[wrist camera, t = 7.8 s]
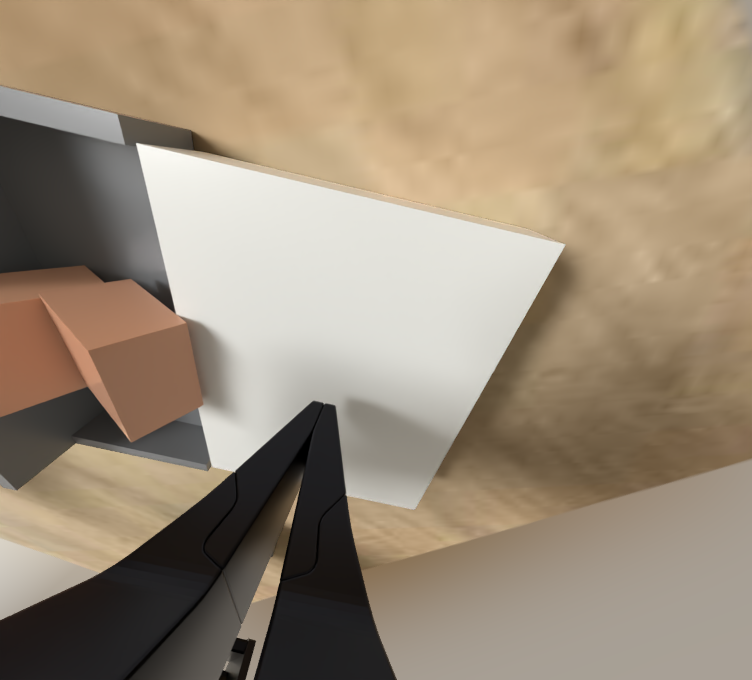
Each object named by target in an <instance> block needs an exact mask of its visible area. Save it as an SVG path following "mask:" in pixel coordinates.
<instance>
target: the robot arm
mask: <svg viewBox="0 0 752 680" xmlns="http://www.w3.org/2000/svg"><path fill="white" fill-rule="evenodd" d="M300 486H301V487H300ZM299 488H300V491H299ZM298 491H299V496H298V500H297V505H296V509H295V514H294V518H293V523H292V528H291V532H290V537H289V541H288V546H287V550H286V555H285V559H284V564H283V569H282V573H281V578H280V583H279V587H278V591H277V596H276V600H275V604H274V608H273V612H272V616H271V620H270V624H269V627H268V631H267V634H266V638H265V641H264V645H263V649H262V653H261V656H260V660H259V663H258V667H257V670H256V674H255V677H254V680H397V679H396V677H395V674H394V671H393V669H392V666H391V664H390V662H389V659H388V657H387V654H386V652H385V649H384V647H383V644H382V642H381V639H380V636H379V634H378V631H377V628H376V625H375V622H374V619H373V615H372V611H371V608H370V604H369V601H368V597H367V593H366V588H365V584H364V580H363V576H362V572H361V568H360V564H359V560H358V556H357V552H356V548H355V543H354V538H353V534H352V529H351V523H350V517H349V510H348V502H347V496H346V486H345V478H344V470H343V461H342V453H341V445H340V436H339V428H338V420H337V411H336V406H335V405H333V404H328V403H325V404H324V403H323V402H319V401H312V402H311V403H310V404H309V405H307V406H306V407H305V408H304V409H303V410H302V411H301V412H300V413H299V414H297V415H296V416H295V417H294V418H293V419H292V420H291V421H290V422H289V423H287V424H286V425H285V426H284V427H283V428H282V429H281V430H280V431H279V432H277V433H276V434H275V435H274V436H273V437H272V438H271V439H270V440H269V441H267V442H266V443H265V444H264V445H263V446H262V447H261V448H260V449H259V450H257V451H256V452H255V453H254V454H253V455H252V456H251V457H250V458H249V459H247V460H246V461H245V462H244V463H243V464H242V465H241V466H240V467H239V468H237V469H236V470H235V473H234V472H233V473H232V474H231V475H230V476H228V477H227V478H226V479H225V480H224V481H223V482H222V483H221V484H219V485H218V486H217V487H216V488H215V489H214V490H213V491H211V492H210V493H209V494H208V495H207V496H206V497H204V498H203V499H202V500H200V501H199V502H198V503H197V504H195V505H194V506H193V507H192V508H190V509H189V510H188V511H186V512H185V513H184V514H182V515H181V516H180V517H179V518H177V519H176V520H175V521H173V522H172V523H171V524H169V525H168V526H167V527H165V528H164V529H163V530H161V531H160V532H159V533H157V534H156V535H155V536H153V537H152V538H151V539H149V540H148V541H147V542H145V543H144V544H143V545H141V546H140V547H139V548H137V549H136V550H135V551H133V552H132V553H131V554H129V555H128V556H127V557H125V558H124V559H122V560H121V561H119V562H118V563H116V564H115V565H113V566H112V567H110V568H108V569H107V570H105V571H103V572H102V573H100V574H98V575H96V576H94V577H93V578H90V579H88V580H86V581H84V582H82V583H80V584H78V585H76V586H74V587H71V588H69V589H67V590H65V591H62V592H61V593H58V594H56V595H54V596H52V597H50V598H47V599H45V600H43V601H41V602H39V603H37V604H34V605H32V606H30V607H28V608H26V609H24V610H21V611H19V612H17V613H15V614H13V615H11V616H8V617H6V618H4V619H2V620H0V680H245V679H246V676H247V672H248V668H249V665H250V661H251V657H252V654H253V650H254V646H255V642H256V641H255V640H252V639H247V640H244V639H240V638H237V635H238V633H239V630H240V628H241V624H242V623H243V621H244V618H245V616H246V614H247V611H248V609H249V607H250V604H251V602H252V600H253V597H254V595H255V592H256V590H257V588H258V585H259V583H260V581H261V578H262V576H263V573H264V571H265V569H266V566H267V564H268V562H269V559H270V557H272V556H273V554H274V551H275V545H276V543H277V540H278V538H279V536H280V533H281V531H282V529H283V526H284V524H285V521H286V519H287V517H288V514H289V512H290V510H291V507H292V505H293V502H294V500H295V498H296V495H297V493H298ZM226 661H229V663H228V666H227V668H226V671H223V668H224V666H225V663H226Z"/></svg>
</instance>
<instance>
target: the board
mask: <svg viewBox="0 0 752 680" xmlns="http://www.w3.org/2000/svg"><path fill="white" fill-rule="evenodd" d="M136 145H137V149H138V153H139V158H140V162H141V166H142V170H143V175H144V179H145V183H146V187H147V192H148V196H149V200H150V205H151V209H152V213H153V217H154V222H155V226H156V230H157V234H158V239H159V243H160V247H161V251H162V256H163V260H164V264H165V269H166V273H167V277H168V281H169V286H170V290H171V294H172V298H173V303H174V307H175V311H176V315H178V316H179V317H180V318H181V319H183V320H184V321H185V322H186V323H187V326H188V331H189V336H190V341H191V346H192V350H193V355H194V360H195V365H196V370H197V375H198V380H199V385H200V389H201V394H202V399H203V404H204V405H203V406H201V407H199V408H198V409H199V414H200V418H201V422H202V426H203V431H204V435H205V439H206V444H207V448H208V452H209V456H210V461H211V465H212V467H214V468H219V469H224V470H229V471H233V472H235V470H236V469H237V468H239V467H240V466H241V465H242V464H243V463H244V462H245V461H246V460H247V459H249V458H250V457H251V456H252V455H253V454H254V453H255V452H256V451H257V450H259V449H260V448H261V447H262V446H263V445H264V444H265V443H266V442H267V441H269V440H270V439H271V438H272V437H273V436H274V435H275V434H276V433H277V432H279V431H280V430H281V429H282V428H283V427H284V426H285V425H286V424H287V423H289V422H290V421H291V420H292V419H293V418H294V417H295V416H296V415H297V414H299V413H300V412H301V411H302V410H303V409H304V408H305V407H306V406H307V405H309V404H310V403H311V402H312V401H319V402H323V403H324V404H325V403H328V404H333V405H335V406H336V411H337V420H338V428H339V436H340V445H341V453H342V461H343V470H344V478H345V486H346V496H351V497H356V498H361V499H365V500H370V501H375V502H379V503H384V504H389V505H394V506H398V507H403V508H408V509H412V510H415V508H416V507H417V505H418V503H419V501H420V500H421V498H422V496H423V494H424V493H425V491H426V489H427V487H428V486H429V484H430V482H431V480H432V479H433V477H434V475H435V473H436V472H437V470H438V468H439V466H440V465H441V463H442V461H443V459H444V457H445V456H446V454H447V452H448V450H449V449H450V447H451V445H452V443H453V442H454V440H455V438H456V436H457V435H458V433H459V431H460V429H461V428H462V426H463V424H464V422H465V421H466V419H467V417H468V415H469V414H470V412H471V410H472V408H473V407H474V405H475V403H476V401H477V399H478V398H479V396H480V394H481V392H482V391H483V389H484V387H485V385H486V384H487V382H488V380H489V378H490V377H491V375H492V373H493V371H494V370H495V368H496V366H497V364H498V363H499V361H500V359H501V357H502V356H503V354H504V352H505V350H506V349H507V347H508V345H509V343H510V342H511V340H512V338H513V336H514V334H515V333H516V331H517V329H518V327H519V326H520V324H521V322H522V320H523V319H524V317H525V315H526V313H527V312H528V310H529V308H530V306H531V305H532V303H533V301H534V299H535V298H536V296H537V294H538V292H539V291H540V289H541V287H542V285H543V284H544V282H545V280H546V278H547V277H548V275H549V273H550V271H551V269H552V268H553V266H554V264H555V262H556V261H557V259H558V257H559V255H560V254H561V252H562V250H563V248H564V247H565V245H566V244H563V243H561V242H558V241H556V240H554V239H551V238H549V237H546V236H544V235H542V234H539V233H537V232H534V231H532V230H530V229H527V228H523V227H519V226H514V225H510V224H506V223H502V222H498V221H493V220H489V219H485V218H481V217H476V216H472V215H468V214H464V213H460V212H455V211H451V210H447V209H443V208H438V207H434V206H430V205H426V204H422V203H417V202H413V201H409V200H405V199H400V198H396V197H392V196H388V195H384V194H379V193H375V192H371V191H367V190H363V189H358V188H354V187H350V186H346V185H341V184H337V183H333V182H329V181H325V180H320V179H316V178H312V177H308V176H303V175H299V174H295V173H291V172H287V171H282V170H278V169H274V168H270V167H265V166H261V165H257V164H253V163H249V162H244V161H240V160H236V159H232V158H227V157H223V156H219V155H215V154H211V153H206V152H202V151H194V150H186V149H178V148H171V147H163V146H155V145H148V144H140V143H136Z"/></svg>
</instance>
